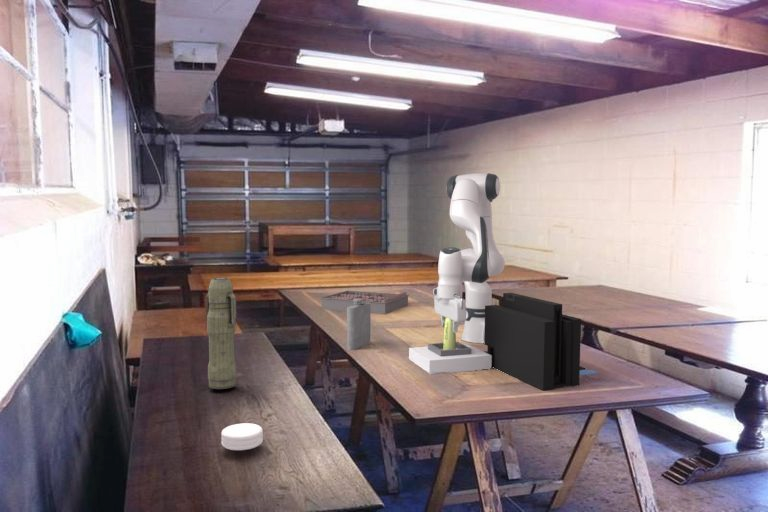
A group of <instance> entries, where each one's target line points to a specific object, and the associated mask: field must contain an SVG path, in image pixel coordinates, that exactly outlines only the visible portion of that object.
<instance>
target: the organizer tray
mask: <svg viewBox="0 0 768 512" xmlns="http://www.w3.org/2000/svg"><path fill="white" fill-rule="evenodd" d="M409 297H410V294H407V291H404V292H401V293H391V292H390V293H387V292H386V293H385V292H375V291H373V292H372V291H360V290H359V291H357V290H343V291H340V292H337V293H333V294H329V295H326V296H321V297H320V305H321V308H320V309H321V310H325V311H327V310H328V311H338V312H339V311H340V312H347V307H349V306H352V305H354V302H353V299H362V302H361V303H370V314H376V315H387V314H390V313H392V312H394V311H396V310H399V309H401V308H403V307H406V306H408V305H409Z"/></svg>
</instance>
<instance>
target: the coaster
mask: <svg viewBox="0 0 768 512" xmlns="http://www.w3.org/2000/svg"><path fill="white" fill-rule="evenodd" d="M263 432H264V430H263V428H262V427H261V425H259V424H255V423H252V422H251V423H250V422H249V423H248V422H246V423H245V422H243V423H235V424H231V425H228V426H226V427H224V428H223V429H222V430H221V433H220V434H221V438H220V439H221V446H222V447H224V448H225V449H227V450H231V451H246V450H251V449H255V448H256V447H258V446H260V445H261V444H262V443H263V440H264V438H263V436H264V435H263Z"/></svg>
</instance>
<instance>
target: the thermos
mask: <svg viewBox="0 0 768 512" xmlns="http://www.w3.org/2000/svg"><path fill="white" fill-rule="evenodd" d="M233 289H234V288H233V283H232V281H231V279H230V278H228V277H219V276H218V277H213V278H212V279H210V282H209V286H208V292H207V293H206V294H205V310H206V313H205V314H206V315H205V316H206V318H205V320H206V328H207V329H206V331H207V332H206V333H207V335H208V356H209V359H208V360H209V361H208V365H207V380H208V387H209V388H210V389H215V390H224V389H225V390H226V389H230V388H231V389H232V388H234V387H235V386H236V385H237V381H236V379H237V363H236V360H235V332H236V326H237V297H236V295H235V293H234V290H233Z"/></svg>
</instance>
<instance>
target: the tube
mask: <svg viewBox="0 0 768 512" xmlns="http://www.w3.org/2000/svg"><path fill="white" fill-rule="evenodd" d="M452 327H453V320H451V319H448V318H445V327H444V328H443V329H444V330H443V342H442V343H443V350H452V349H456V342H457V340H456V339H457V338H456V337H457V336H456V333H454V332H452Z"/></svg>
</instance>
